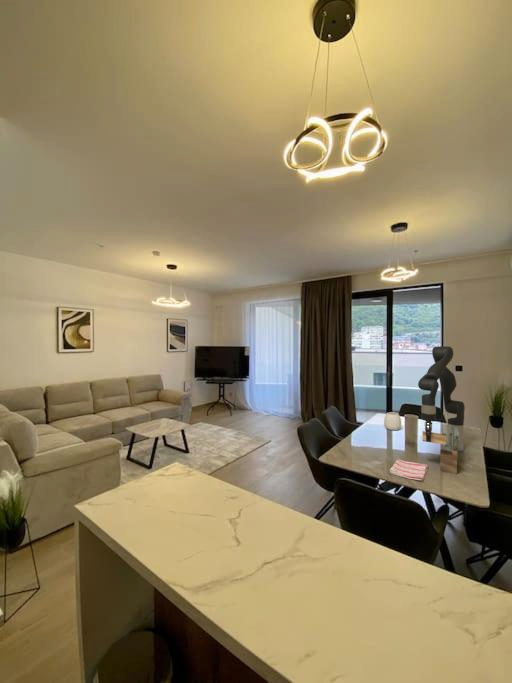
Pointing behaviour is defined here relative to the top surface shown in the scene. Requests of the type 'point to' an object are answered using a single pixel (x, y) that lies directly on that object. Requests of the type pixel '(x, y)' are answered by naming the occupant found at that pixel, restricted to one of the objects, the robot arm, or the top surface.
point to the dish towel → (409, 470)
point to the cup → (392, 421)
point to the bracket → (456, 439)
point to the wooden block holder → (449, 460)
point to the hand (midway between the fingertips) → (428, 440)
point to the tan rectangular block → (435, 437)
